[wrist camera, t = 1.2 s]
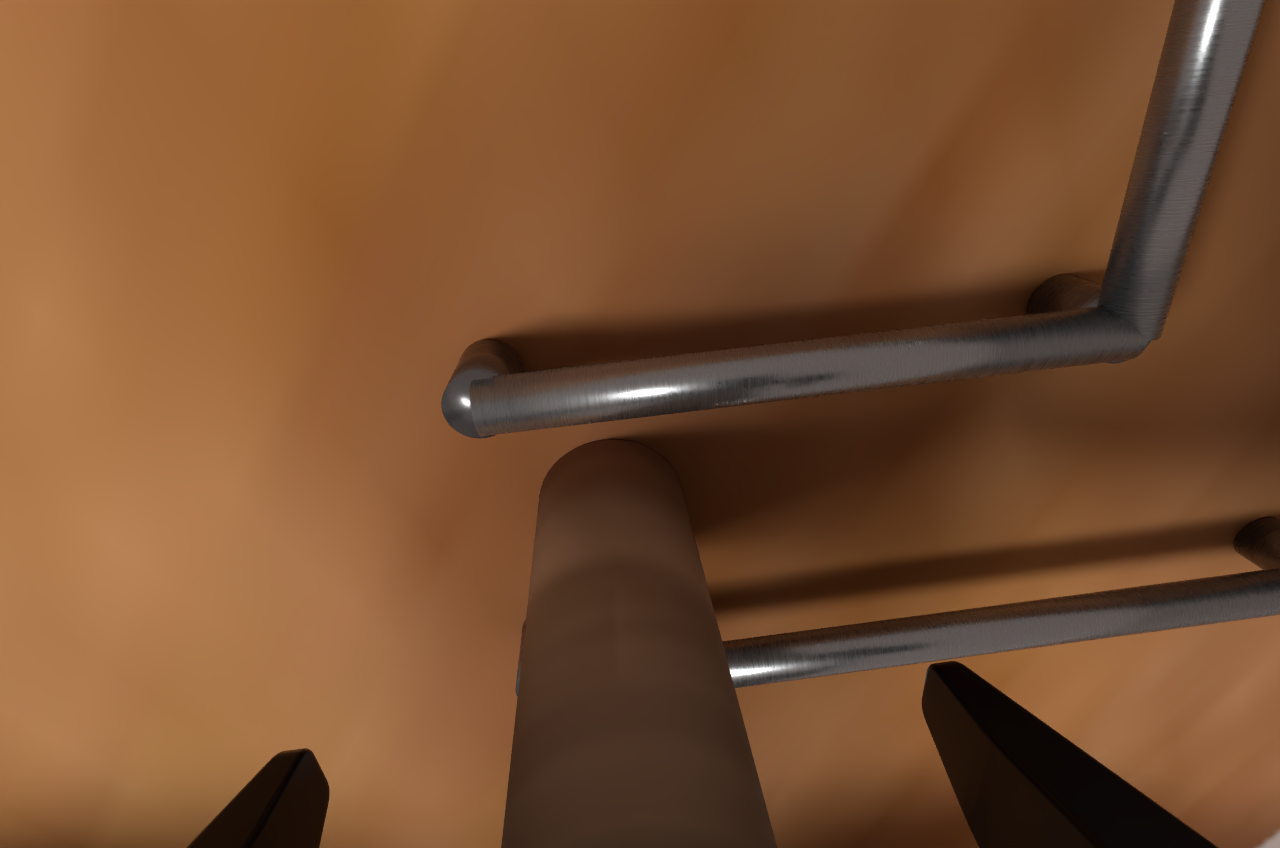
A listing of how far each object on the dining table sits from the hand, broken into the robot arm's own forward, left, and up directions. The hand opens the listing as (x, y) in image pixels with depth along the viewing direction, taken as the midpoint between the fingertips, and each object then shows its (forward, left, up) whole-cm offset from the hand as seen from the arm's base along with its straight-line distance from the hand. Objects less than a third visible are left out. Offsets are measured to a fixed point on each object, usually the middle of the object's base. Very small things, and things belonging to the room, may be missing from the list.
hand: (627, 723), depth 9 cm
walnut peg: (0, 0, -6) cm, 6 cm away
